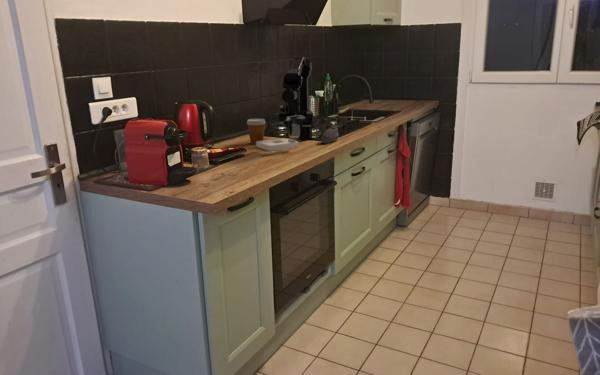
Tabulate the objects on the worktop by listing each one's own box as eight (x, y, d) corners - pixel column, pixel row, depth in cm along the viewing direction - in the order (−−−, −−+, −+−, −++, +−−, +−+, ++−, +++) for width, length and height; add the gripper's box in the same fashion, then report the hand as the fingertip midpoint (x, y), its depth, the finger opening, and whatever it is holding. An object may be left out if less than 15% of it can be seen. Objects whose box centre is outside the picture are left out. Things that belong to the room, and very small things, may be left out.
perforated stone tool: (326, 145, 241) (326, 131, 239) (317, 144, 244) (317, 130, 242) (341, 140, 253) (341, 127, 251) (332, 139, 256) (332, 126, 254)
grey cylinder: (295, 136, 233) (295, 123, 231) (300, 137, 230) (299, 124, 228) (288, 137, 231) (288, 124, 229) (292, 138, 228) (292, 125, 226)
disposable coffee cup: (269, 141, 252) (268, 118, 249) (262, 145, 243) (261, 121, 240) (251, 141, 255) (250, 118, 251) (244, 144, 246) (243, 121, 243)
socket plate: (284, 142, 249) (284, 136, 248) (298, 147, 238) (298, 140, 237) (256, 146, 241) (256, 139, 240) (270, 151, 230) (269, 144, 229)
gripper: (301, 97, 237) (301, 129, 241) (267, 100, 227) (268, 133, 232) (313, 99, 228) (314, 132, 232) (279, 102, 218) (280, 137, 223)
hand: (294, 134), depth 230 cm, fingers closed on grey cylinder, 4 cm apart
